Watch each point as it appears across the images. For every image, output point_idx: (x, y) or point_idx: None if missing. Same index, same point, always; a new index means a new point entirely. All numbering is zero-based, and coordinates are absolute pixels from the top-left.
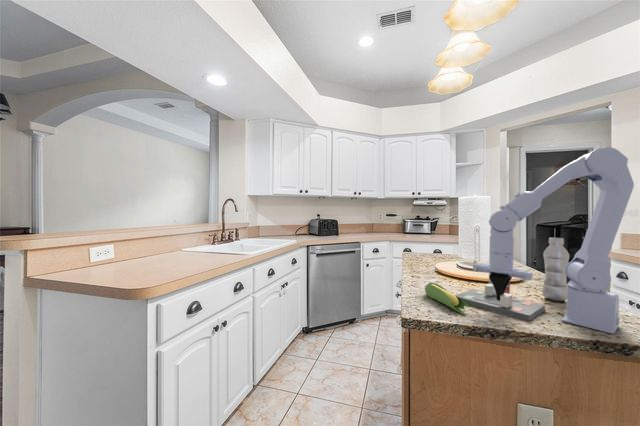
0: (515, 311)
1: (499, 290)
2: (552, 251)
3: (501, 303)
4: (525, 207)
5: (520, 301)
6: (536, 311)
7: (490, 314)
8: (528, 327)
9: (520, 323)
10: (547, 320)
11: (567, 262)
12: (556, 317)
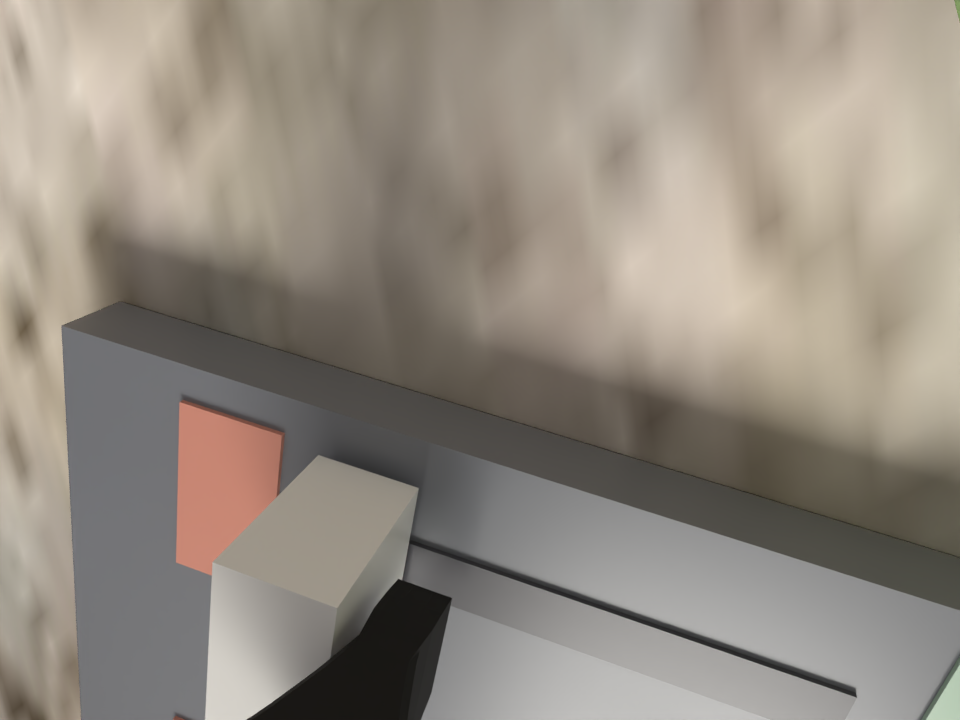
0: (220, 393)
1: (307, 707)
2: None
3: (379, 508)
4: None
5: None
6: (80, 564)
7: (550, 257)
8: (60, 33)
9: (162, 132)
10: (25, 457)
11: None
12: (9, 597)
